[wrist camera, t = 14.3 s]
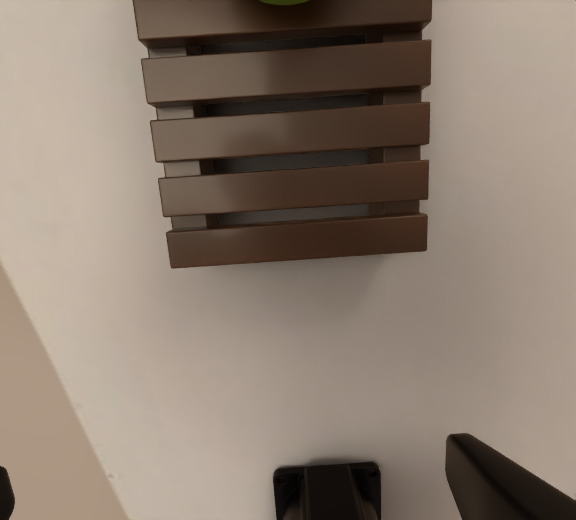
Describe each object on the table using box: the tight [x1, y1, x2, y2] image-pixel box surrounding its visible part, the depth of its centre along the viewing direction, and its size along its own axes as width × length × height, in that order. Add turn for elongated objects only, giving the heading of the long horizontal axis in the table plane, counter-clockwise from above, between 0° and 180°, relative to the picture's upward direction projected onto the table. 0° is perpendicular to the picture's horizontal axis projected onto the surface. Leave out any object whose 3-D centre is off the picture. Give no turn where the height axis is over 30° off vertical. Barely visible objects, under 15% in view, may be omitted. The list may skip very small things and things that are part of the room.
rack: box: [133, 0, 432, 268], centre depth 16 cm, size 15×11×4 cm
